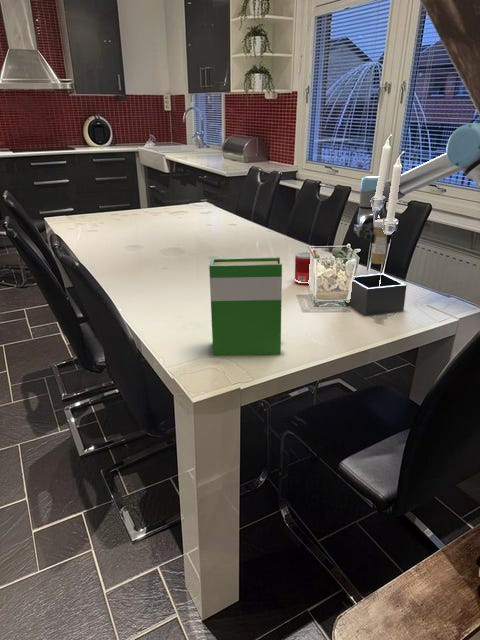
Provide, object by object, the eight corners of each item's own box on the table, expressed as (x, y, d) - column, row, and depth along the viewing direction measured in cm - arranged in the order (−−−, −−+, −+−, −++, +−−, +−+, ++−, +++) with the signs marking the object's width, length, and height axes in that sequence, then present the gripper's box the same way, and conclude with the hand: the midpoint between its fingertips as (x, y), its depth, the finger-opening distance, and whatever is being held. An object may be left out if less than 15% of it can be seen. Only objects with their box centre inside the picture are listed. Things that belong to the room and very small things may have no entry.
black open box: (403, 311, 149) (406, 284, 146) (365, 315, 146) (367, 289, 143) (380, 298, 162) (383, 273, 158) (345, 302, 158) (346, 277, 155)
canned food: (318, 284, 177) (319, 256, 173) (298, 286, 176) (299, 257, 172) (311, 278, 184) (312, 251, 180) (292, 280, 183) (292, 253, 179)
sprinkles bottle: (370, 260, 151) (374, 218, 146) (385, 261, 150) (389, 219, 145) (369, 264, 147) (373, 221, 142) (384, 264, 146) (389, 221, 141)
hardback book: (278, 342, 129) (279, 257, 120) (280, 354, 122) (281, 264, 113) (214, 343, 129) (211, 258, 120) (213, 355, 122) (209, 266, 113)
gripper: (395, 236, 165) (408, 251, 144) (345, 235, 168) (351, 250, 146) (398, 214, 163) (411, 227, 141) (347, 214, 165) (352, 226, 143)
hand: (380, 239), depth 144 cm, fingers closed on sprinkles bottle, 4 cm apart
